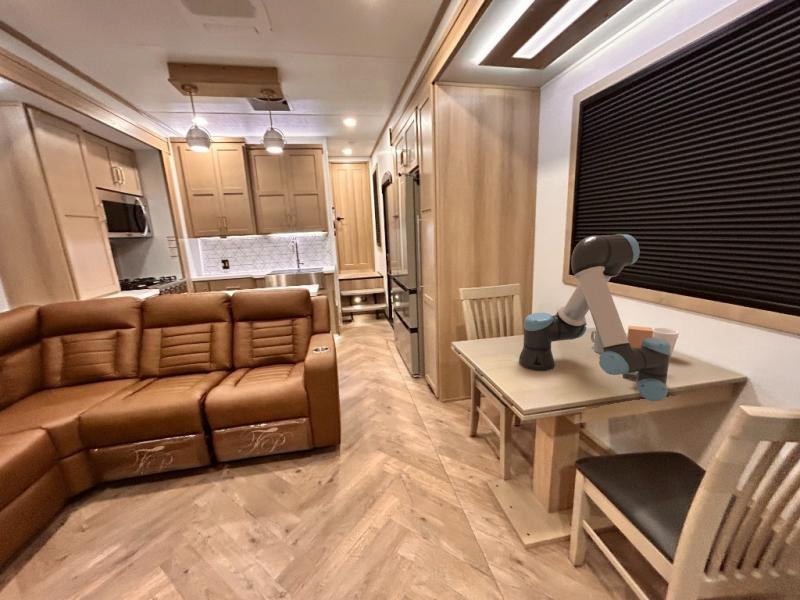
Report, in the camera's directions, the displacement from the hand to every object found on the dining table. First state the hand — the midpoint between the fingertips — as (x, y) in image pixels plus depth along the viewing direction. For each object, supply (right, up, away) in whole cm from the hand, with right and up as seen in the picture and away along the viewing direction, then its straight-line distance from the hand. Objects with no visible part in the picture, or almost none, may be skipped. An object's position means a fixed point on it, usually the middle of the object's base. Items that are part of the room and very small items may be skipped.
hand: (643, 351), depth 133 cm
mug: (-2, -4, +25) cm, 26 cm away
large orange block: (+1, -6, +4) cm, 7 cm away
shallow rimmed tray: (0, -8, +4) cm, 9 cm away
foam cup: (+19, -5, +14) cm, 24 cm away
